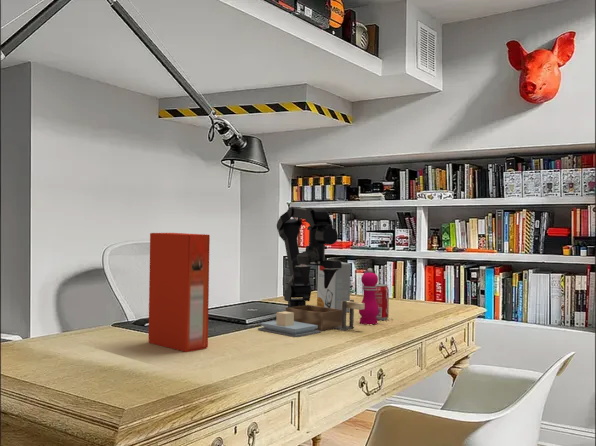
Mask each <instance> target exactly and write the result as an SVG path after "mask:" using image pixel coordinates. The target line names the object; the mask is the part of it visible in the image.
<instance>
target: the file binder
mask: <svg viewBox="0 0 596 446" xmlns="http://www.w3.org/2000/svg"><path fill="white" fill-rule="evenodd" d="M210 244H211V243H210V234H205V233H203V234H202V233H201V234H199V233H185V232H184V233H183V232H181V233H180V232H151V233H149V276H148V277H149V281H148V282H149V285H148V286H149V290H148V293H149V294H148V297H149V298H148V343H149V344H153V345H157V346H161V347H163V348H164V347H165V348H168V349H173V350H177V351H180V352H184V353H188V352H194V351H199V350H204V349H207V348H209V296H210V294H209V292H210V290H209V289H210V286H209V285H210Z"/></svg>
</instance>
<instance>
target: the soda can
mask: <svg viewBox="0 0 596 446" xmlns="http://www.w3.org/2000/svg"><path fill="white" fill-rule="evenodd" d="M388 285H389V284H385V283H384V284H383V283H377V284H376V290H375V299H376V302H377V305H378V308H379V314H378V315H377V316H376V318H377V321H387V320H388V318H389V316H390V315H389V312H390V311H389V309H390V308H389V305H390V303H389V299H390V293H389V290H390V288H389V287H388Z"/></svg>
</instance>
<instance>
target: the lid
mask: <svg viewBox="0 0 596 446" xmlns="http://www.w3.org/2000/svg"><path fill="white" fill-rule="evenodd" d="M275 319H276V320H271V321H265V322H261V323H260V327H264V329H269V330H275V331H280V332H285V333H291V334H299V333H304V332H310V331H314V329H317V328H318V325H313V324H307V323H302V322H296V321H294V313H293V312H286V310H285V311H278V312H276V318H275Z"/></svg>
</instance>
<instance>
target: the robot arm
mask: <svg viewBox="0 0 596 446" xmlns="http://www.w3.org/2000/svg"><path fill="white" fill-rule="evenodd" d="M302 220H305V222H306V223H307V224H308V225H309V226H307V231H308V245H306V247H305V250H304V251H302V252H300V250H299V249H300V248H299V243H298V237H299V234H300V229H301V227H302V224H303V222H302ZM276 231H277V232H278V235H279V237H280V238H281V240H282V241H283V242H284V246H285V252H286V259H287V262H288V269H289V274H290V277H289V280H288V282H287V287H286V290H285V291H284V292H285V293H284V295H283V298H284V299H283V300H284V301H285V302H287V308H289V307H296V306H304V305H307V304H306V303H307V302H310V300H311V295H312V290H313V289H312V286H311V283H310V274H311V273H310V272H311V266H317V267H318V266H323V267H324V268H326V269H322V270H323V272H324V288H325V289H326V288H327V287H328V285H329V283H330V281H331V279H332V277H333V276H334V274H335V272H336V271H337V270H339V269H337V268H341V267H342V263H341V262H342V261H341V260H340V259H327V258H328V257H325V253H326V252H325V250H327V249H328V246H325V245H333V244H335V243H336V242H337V241H338V238H339V234H338V231H337V230H336V229H335V228H334V225H333V221H332V219H331V216H330V214H329V211H328V209H327V208H326V207H324V208H322V207H308V208H306V207H305V208H304V207H302V206H290V207H288V209H287V211H286V212H284V213H283V214H281V215H280V216H279V219H278V220H277V223H276ZM318 263H320V264H318Z"/></svg>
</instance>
